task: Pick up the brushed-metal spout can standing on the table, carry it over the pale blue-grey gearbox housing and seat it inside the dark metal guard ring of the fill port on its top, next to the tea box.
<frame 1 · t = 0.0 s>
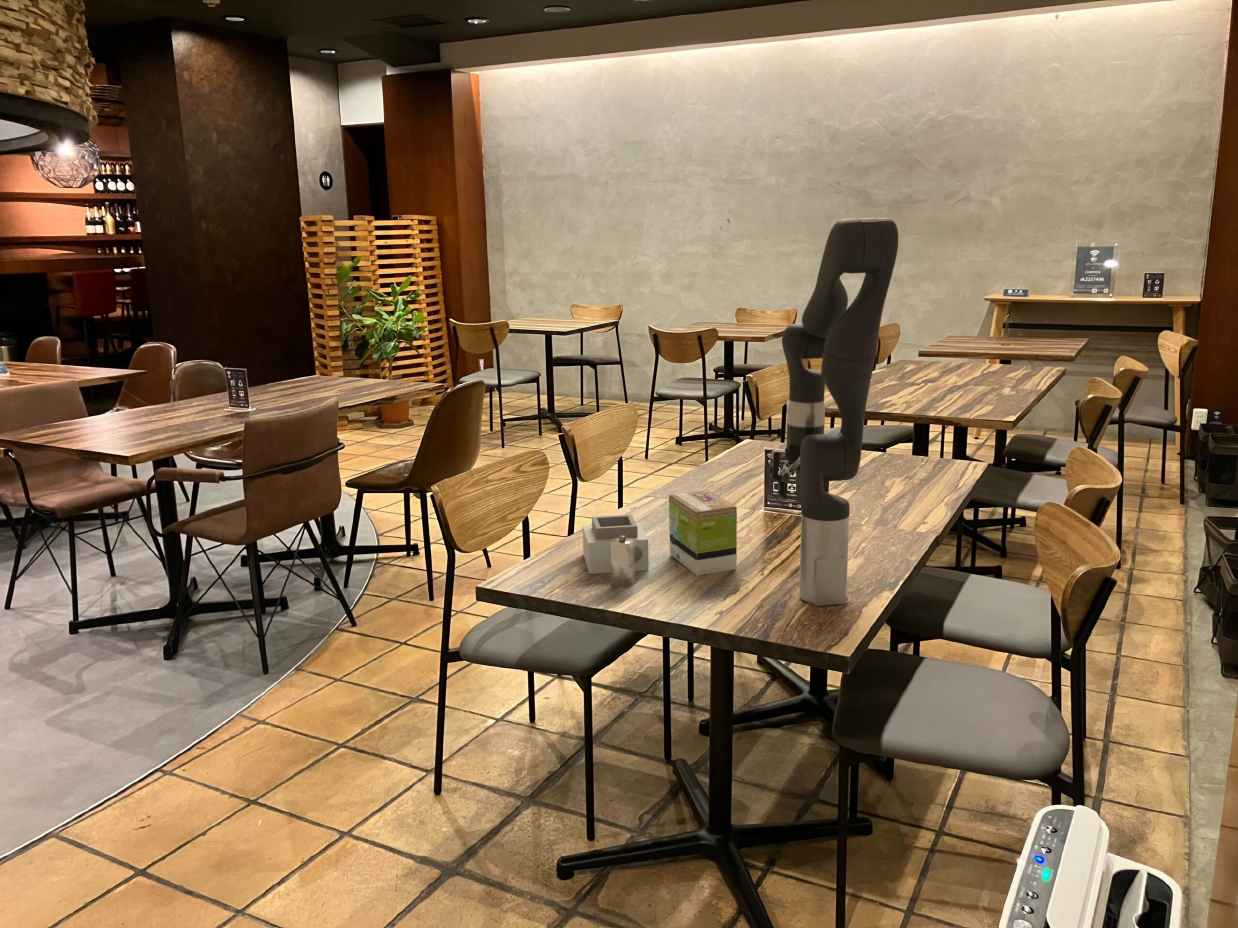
hand: (803, 497, 203), 17 cm above the table, tool pointing down, fingers open, 8 cm apart
spout can: (623, 582, 205), on the table
gearbox: (615, 562, 217), on the table
tea box: (702, 563, 216), on the table
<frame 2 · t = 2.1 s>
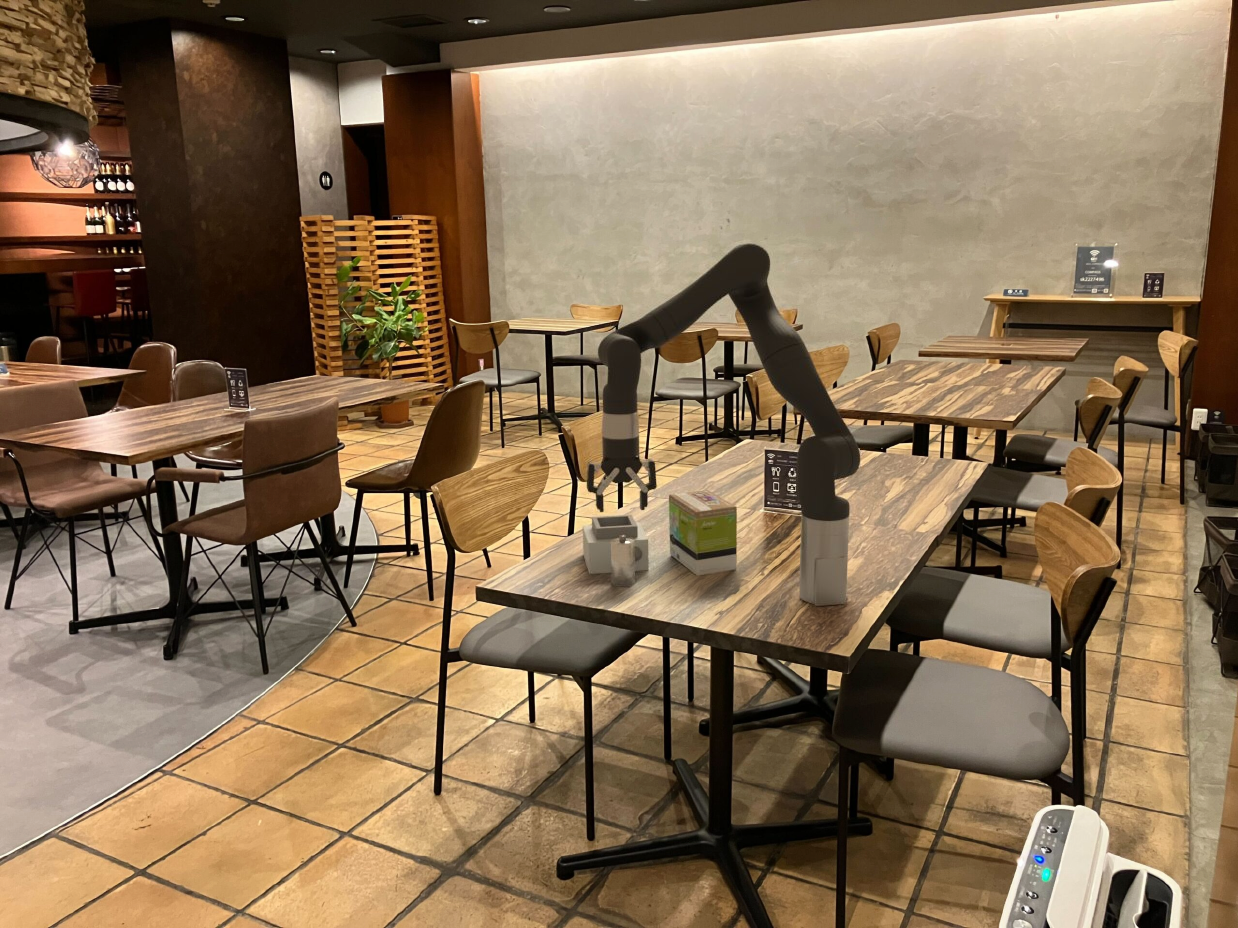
hand: (622, 510, 201), 16 cm above the table, tool pointing down, fingers open, 8 cm apart
nothing on the table moved.
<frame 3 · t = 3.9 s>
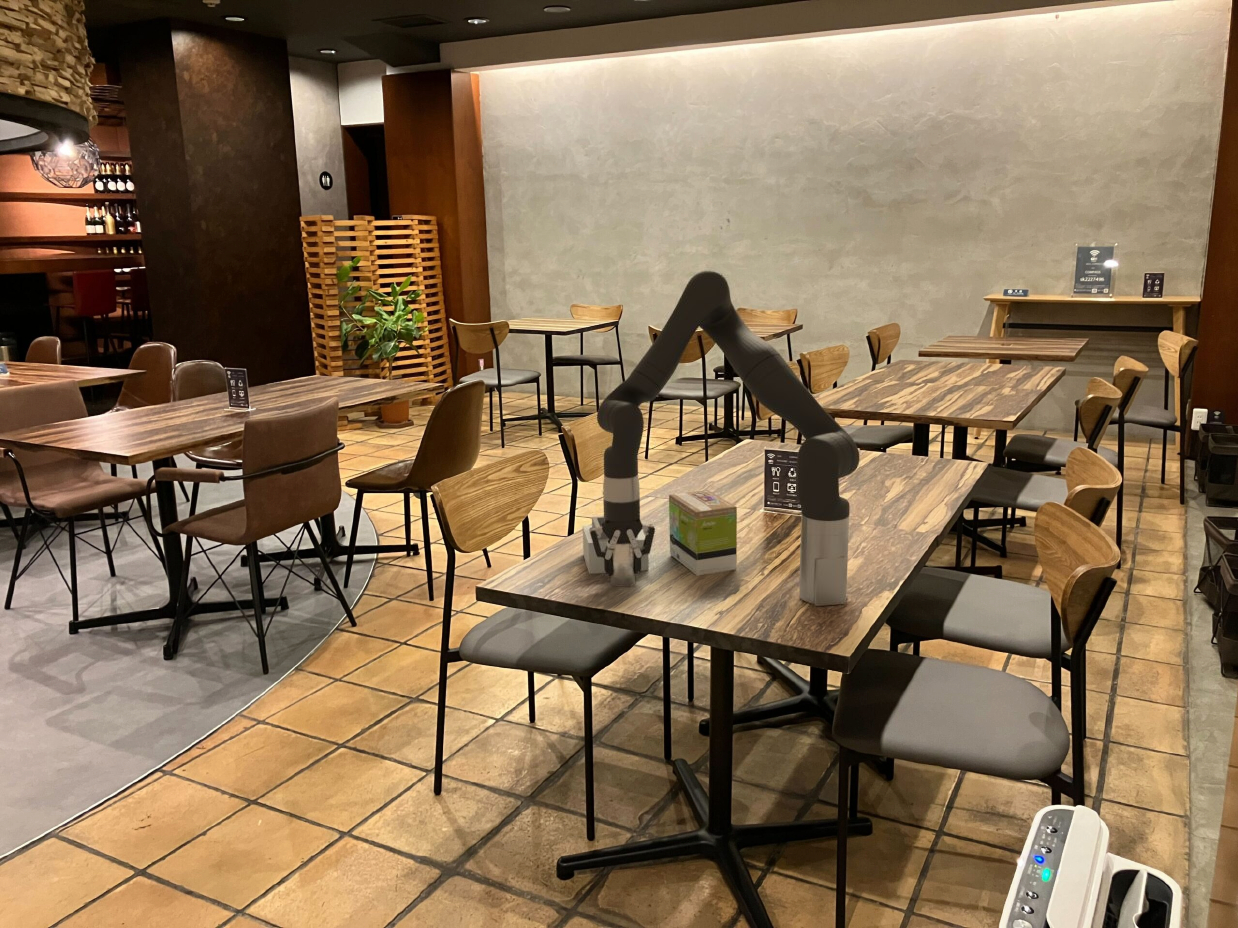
hand: (623, 573, 204), 2 cm above the table, tool pointing down, fingers closed on spout can, 5 cm apart
spout can: (623, 582, 205), on the table, touching gripper
everything else where it was.
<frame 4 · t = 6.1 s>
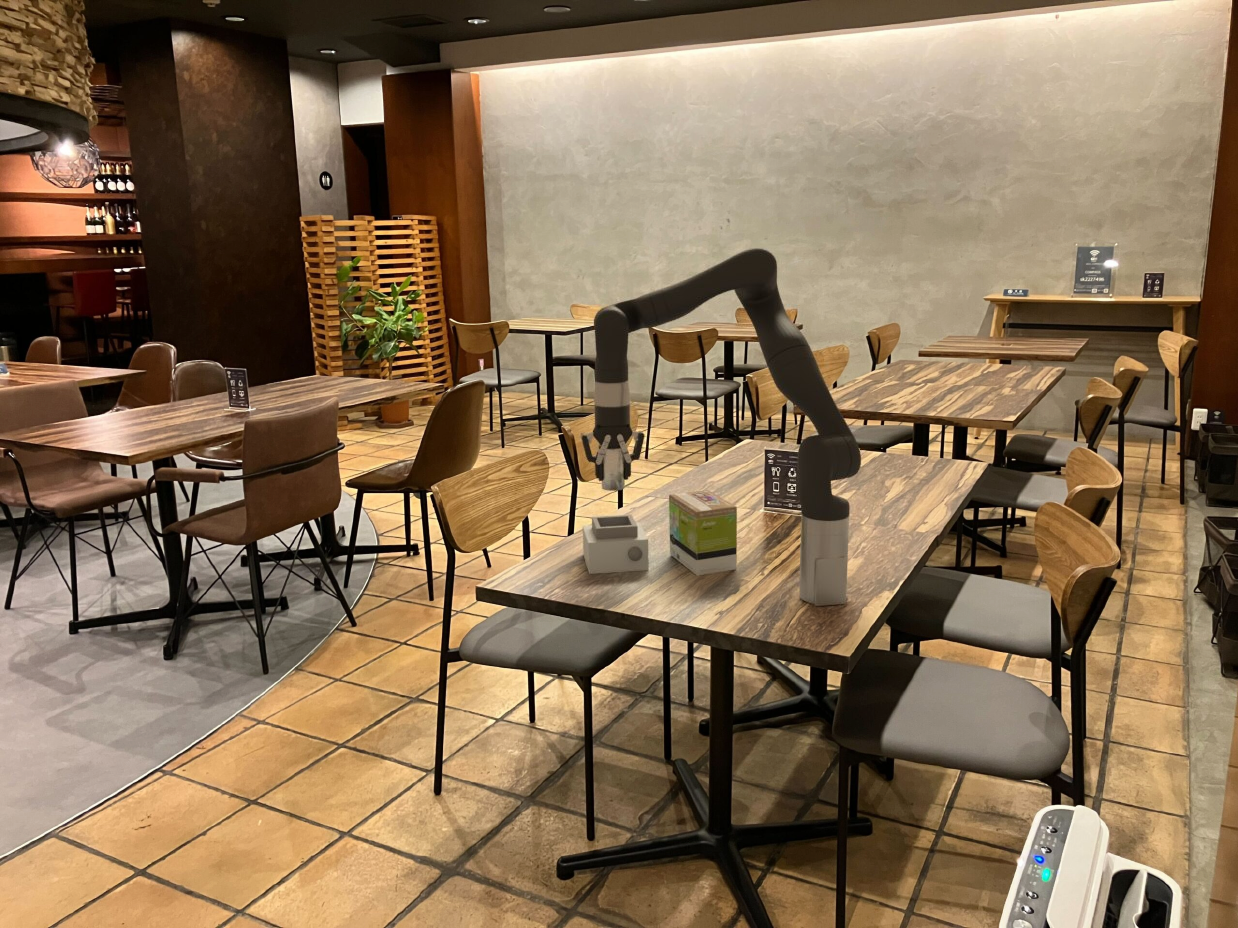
hand: (613, 479, 210), 20 cm above the table, tool pointing down, fingers closed on spout can, 5 cm apart
spout can: (613, 487, 211), point 18 cm above the table, touching gripper
everything else where it was.
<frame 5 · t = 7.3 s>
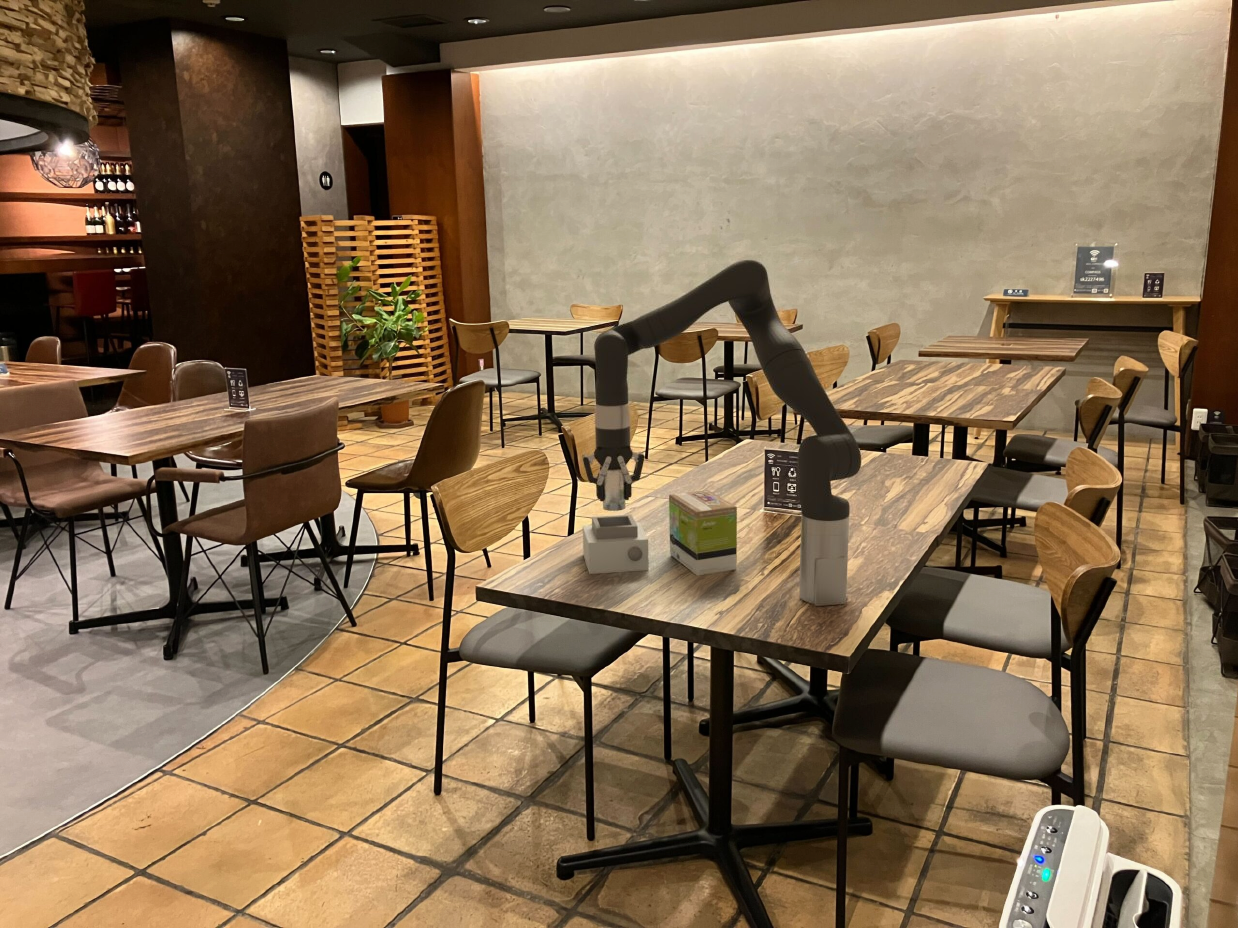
hand: (614, 499, 214), 14 cm above the table, tool pointing down, fingers closed on spout can, 5 cm apart
spout can: (614, 507, 215), point 13 cm above the table, touching gripper
everything else where it was.
when the fingers open (10 cm above the table, at t = 8.5 s): spout can drops 1 cm, resting on gearbox.
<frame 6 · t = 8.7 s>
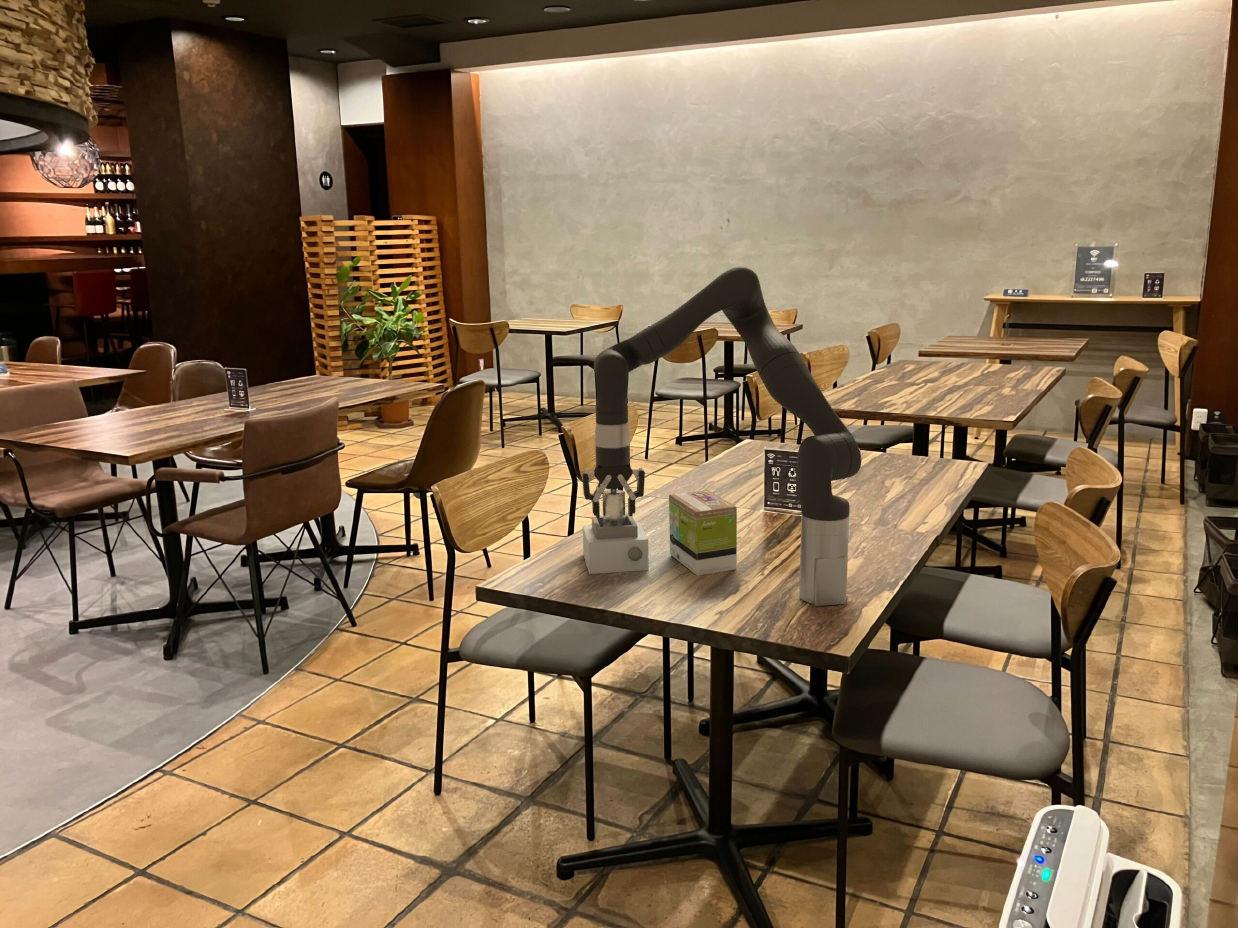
hand: (614, 516, 215), 11 cm above the table, tool pointing down, fingers open, 6 cm apart
spout can: (614, 531, 216), point 7 cm above the table, touching gearbox
everything else where it was.
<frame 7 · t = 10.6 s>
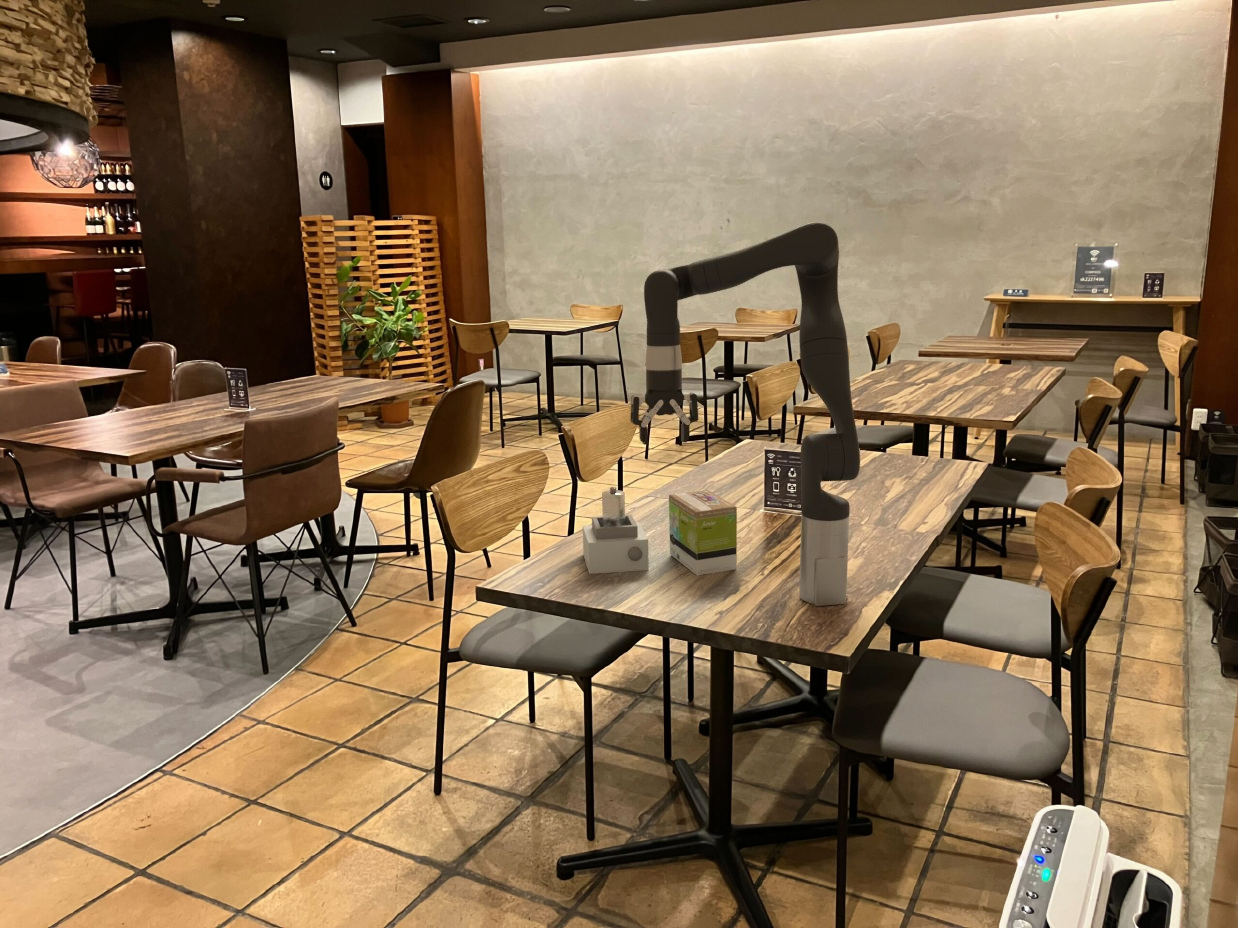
hand: (664, 443, 207), 28 cm above the table, tool pointing down, fingers open, 8 cm apart
nothing on the table moved.
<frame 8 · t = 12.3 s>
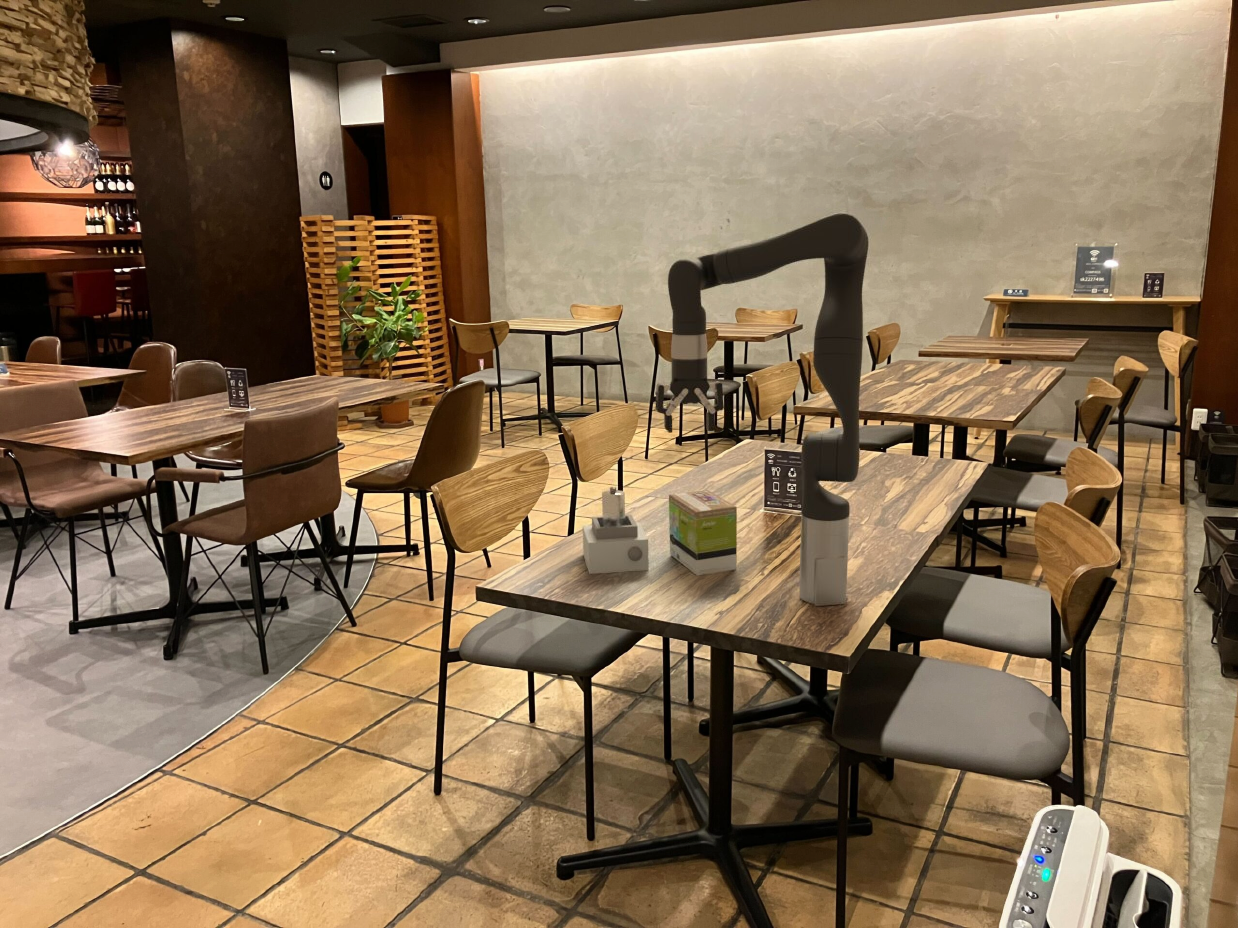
hand: (689, 431, 208), 30 cm above the table, tool pointing down, fingers open, 8 cm apart
nothing on the table moved.
at the end: spout can 0.1 cm off-centre on the gearbox, point 7.0 cm above the gearbox's base; spout can tilted 0°; the gripper is holding nothing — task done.
